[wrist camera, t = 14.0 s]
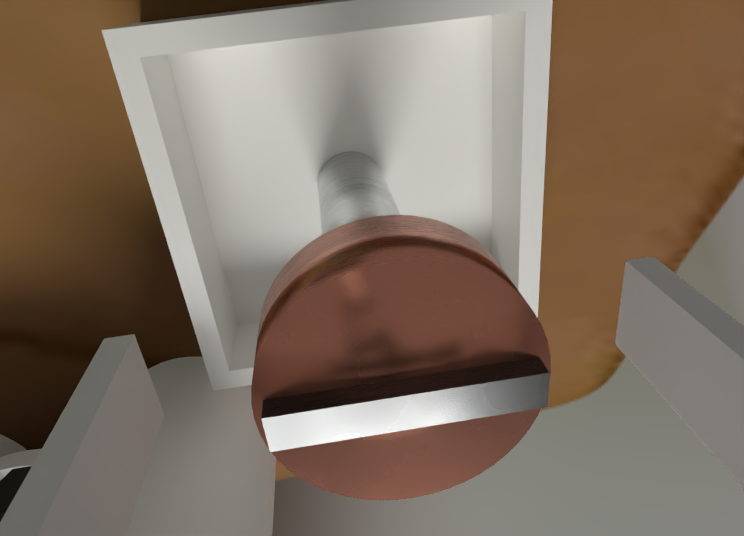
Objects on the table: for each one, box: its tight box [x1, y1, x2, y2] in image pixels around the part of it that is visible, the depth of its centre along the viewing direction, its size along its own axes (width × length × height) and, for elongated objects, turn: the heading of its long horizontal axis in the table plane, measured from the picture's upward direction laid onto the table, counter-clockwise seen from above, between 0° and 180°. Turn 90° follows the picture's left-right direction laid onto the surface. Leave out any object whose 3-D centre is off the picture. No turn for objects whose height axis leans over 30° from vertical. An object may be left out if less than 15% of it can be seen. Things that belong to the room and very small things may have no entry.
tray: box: [102, 0, 553, 391], centre depth 25 cm, size 16×16×5 cm
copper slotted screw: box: [251, 151, 551, 500], centre depth 19 cm, size 7×7×16 cm
